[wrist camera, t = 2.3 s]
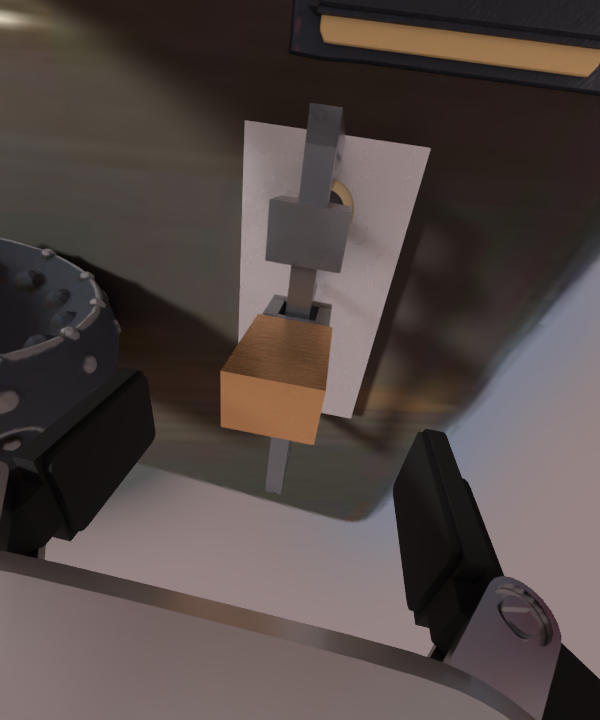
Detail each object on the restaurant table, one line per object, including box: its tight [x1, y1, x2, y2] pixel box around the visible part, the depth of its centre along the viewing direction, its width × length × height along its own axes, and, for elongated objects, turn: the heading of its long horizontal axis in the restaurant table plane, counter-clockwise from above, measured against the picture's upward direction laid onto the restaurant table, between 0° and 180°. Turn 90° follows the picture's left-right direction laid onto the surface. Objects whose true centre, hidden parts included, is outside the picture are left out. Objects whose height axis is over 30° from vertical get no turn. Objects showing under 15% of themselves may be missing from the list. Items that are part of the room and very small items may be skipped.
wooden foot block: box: [220, 282, 333, 445], centre depth 17 cm, size 3×4×15 cm
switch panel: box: [238, 103, 431, 495], centre depth 22 cm, size 23×12×12 cm, turn 172°
